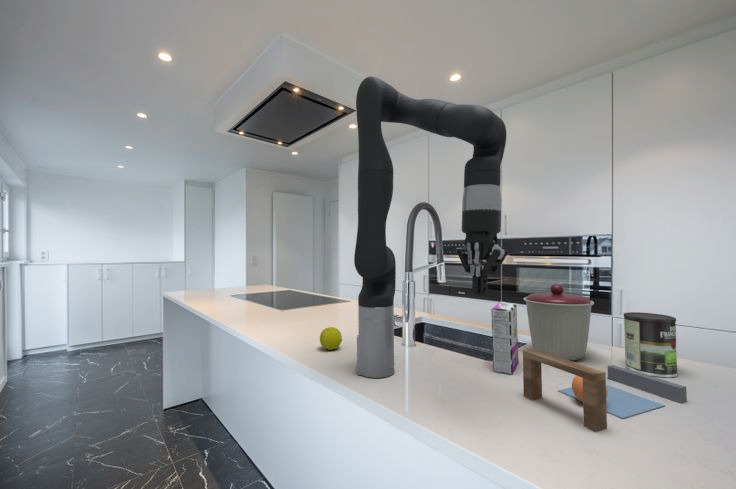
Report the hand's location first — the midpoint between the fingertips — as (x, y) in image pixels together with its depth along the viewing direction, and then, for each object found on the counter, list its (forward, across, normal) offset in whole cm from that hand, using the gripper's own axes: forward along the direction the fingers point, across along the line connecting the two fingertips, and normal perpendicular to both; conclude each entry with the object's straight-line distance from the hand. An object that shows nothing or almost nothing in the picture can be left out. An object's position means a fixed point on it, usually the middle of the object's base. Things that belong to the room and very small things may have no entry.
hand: (479, 295), depth 66 cm
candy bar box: (+22, +15, -22) cm, 34 cm away
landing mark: (+21, -8, -28) cm, 35 cm away
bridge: (+22, -8, -14) cm, 27 cm away
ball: (+18, -8, -22) cm, 29 cm away
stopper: (+21, -7, -40) cm, 45 cm away
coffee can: (+21, 0, -54) cm, 58 cm away
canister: (+22, +17, -43) cm, 51 cm away
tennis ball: (+24, +48, +18) cm, 57 cm away
